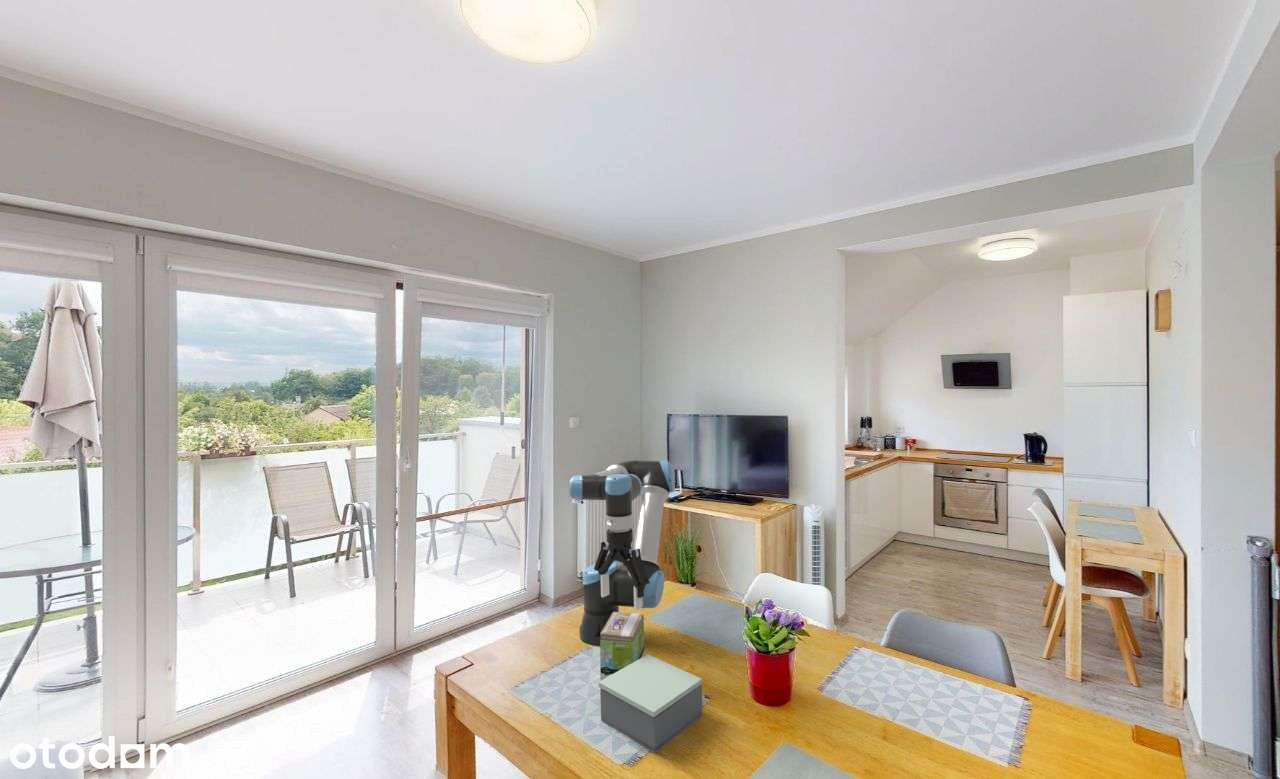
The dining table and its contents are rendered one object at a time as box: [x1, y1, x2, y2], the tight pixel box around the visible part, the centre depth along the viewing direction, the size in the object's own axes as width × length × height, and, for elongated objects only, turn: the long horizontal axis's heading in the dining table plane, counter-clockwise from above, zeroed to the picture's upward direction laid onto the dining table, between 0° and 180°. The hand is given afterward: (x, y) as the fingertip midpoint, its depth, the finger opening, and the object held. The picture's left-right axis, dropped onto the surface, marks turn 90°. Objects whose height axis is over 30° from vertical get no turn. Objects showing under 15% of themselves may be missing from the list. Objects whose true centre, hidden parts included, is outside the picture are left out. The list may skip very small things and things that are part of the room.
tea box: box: [599, 611, 645, 681], centre depth 153 cm, size 15×10×15 cm
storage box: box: [599, 683, 703, 754], centre depth 132 cm, size 18×18×8 cm
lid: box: [597, 654, 703, 717], centre depth 132 cm, size 18×18×1 cm
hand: (621, 601), depth 152 cm, fingers open, 13 cm apart
